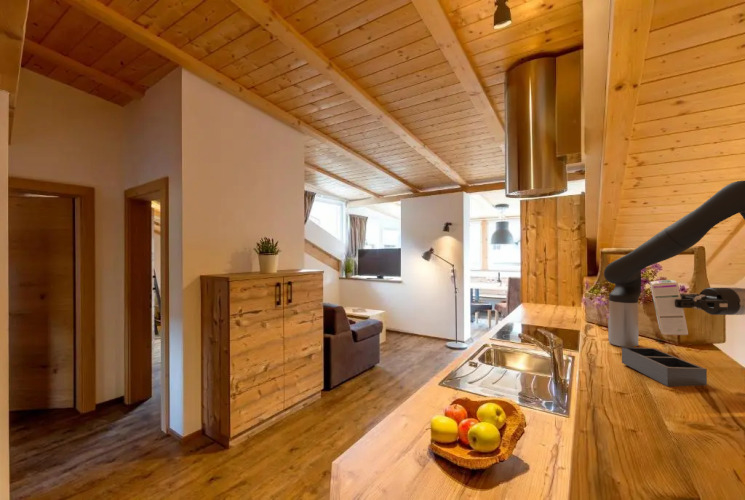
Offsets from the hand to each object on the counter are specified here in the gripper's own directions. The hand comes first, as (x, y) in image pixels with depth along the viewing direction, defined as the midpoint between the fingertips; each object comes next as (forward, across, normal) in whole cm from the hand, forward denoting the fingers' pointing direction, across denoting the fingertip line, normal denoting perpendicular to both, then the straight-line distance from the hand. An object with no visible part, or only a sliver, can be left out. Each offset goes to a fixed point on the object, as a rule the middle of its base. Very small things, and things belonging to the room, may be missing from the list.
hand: (664, 301), depth 91 cm
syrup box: (-2, 0, +9) cm, 9 cm away
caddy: (-2, -4, +22) cm, 23 cm away
